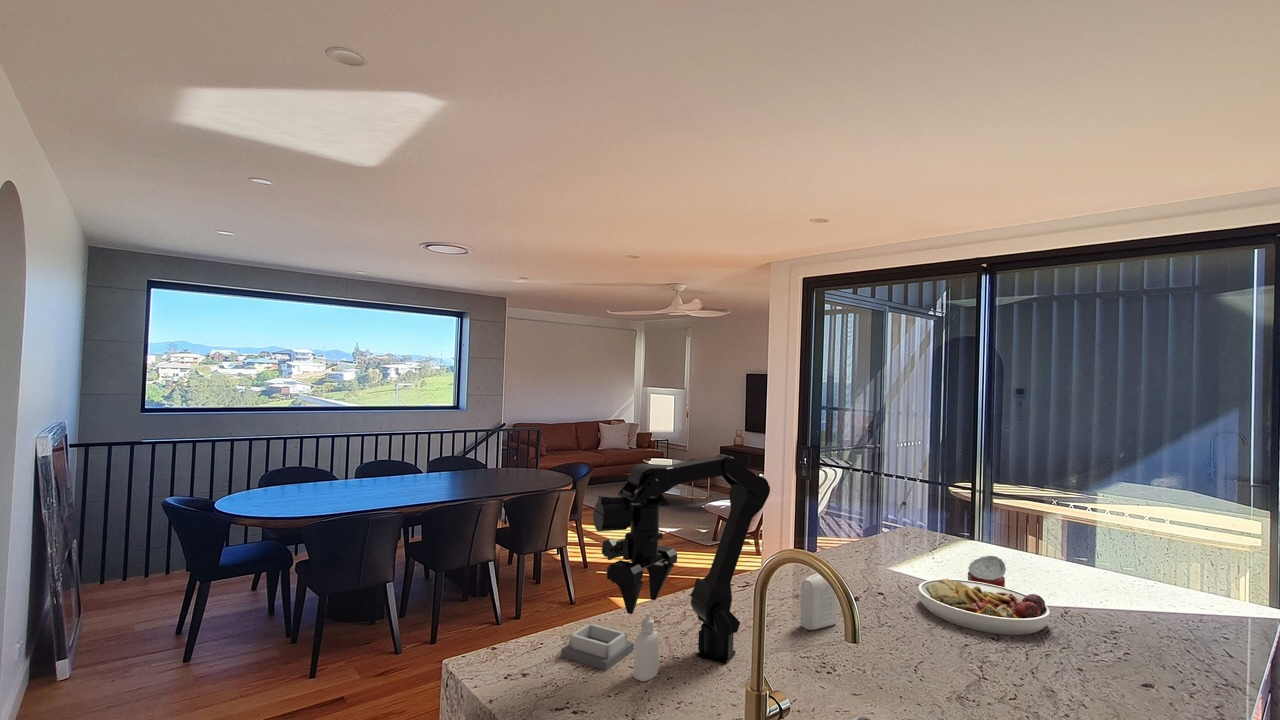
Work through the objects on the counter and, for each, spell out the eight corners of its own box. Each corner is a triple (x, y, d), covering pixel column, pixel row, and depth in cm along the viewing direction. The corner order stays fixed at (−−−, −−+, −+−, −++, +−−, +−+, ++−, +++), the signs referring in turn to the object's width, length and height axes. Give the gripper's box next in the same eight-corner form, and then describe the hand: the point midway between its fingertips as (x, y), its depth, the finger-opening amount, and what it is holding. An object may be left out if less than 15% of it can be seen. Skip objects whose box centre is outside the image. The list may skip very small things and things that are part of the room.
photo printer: (825, 618, 152) (827, 568, 152) (839, 624, 148) (841, 573, 149) (797, 626, 146) (799, 574, 147) (811, 632, 143) (812, 579, 143)
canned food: (1005, 604, 182) (1018, 579, 178) (972, 599, 182) (984, 574, 178) (989, 576, 192) (1001, 552, 188) (957, 571, 193) (968, 547, 188)
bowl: (921, 625, 151) (921, 593, 151) (915, 589, 178) (916, 563, 179) (1064, 650, 139) (1064, 615, 140) (1034, 608, 167) (1035, 579, 167)
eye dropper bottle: (628, 672, 119) (630, 610, 119) (654, 668, 121) (656, 607, 122) (637, 683, 115) (639, 619, 115) (663, 678, 117) (666, 615, 118)
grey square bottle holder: (633, 650, 129) (634, 631, 129) (606, 670, 119) (607, 650, 120) (590, 638, 134) (590, 619, 135) (560, 656, 125) (561, 636, 125)
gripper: (634, 514, 134) (632, 585, 134) (585, 530, 118) (581, 611, 118) (679, 522, 128) (676, 596, 128) (633, 540, 112) (630, 625, 112)
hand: (641, 606), depth 121 cm, fingers open, 9 cm apart
